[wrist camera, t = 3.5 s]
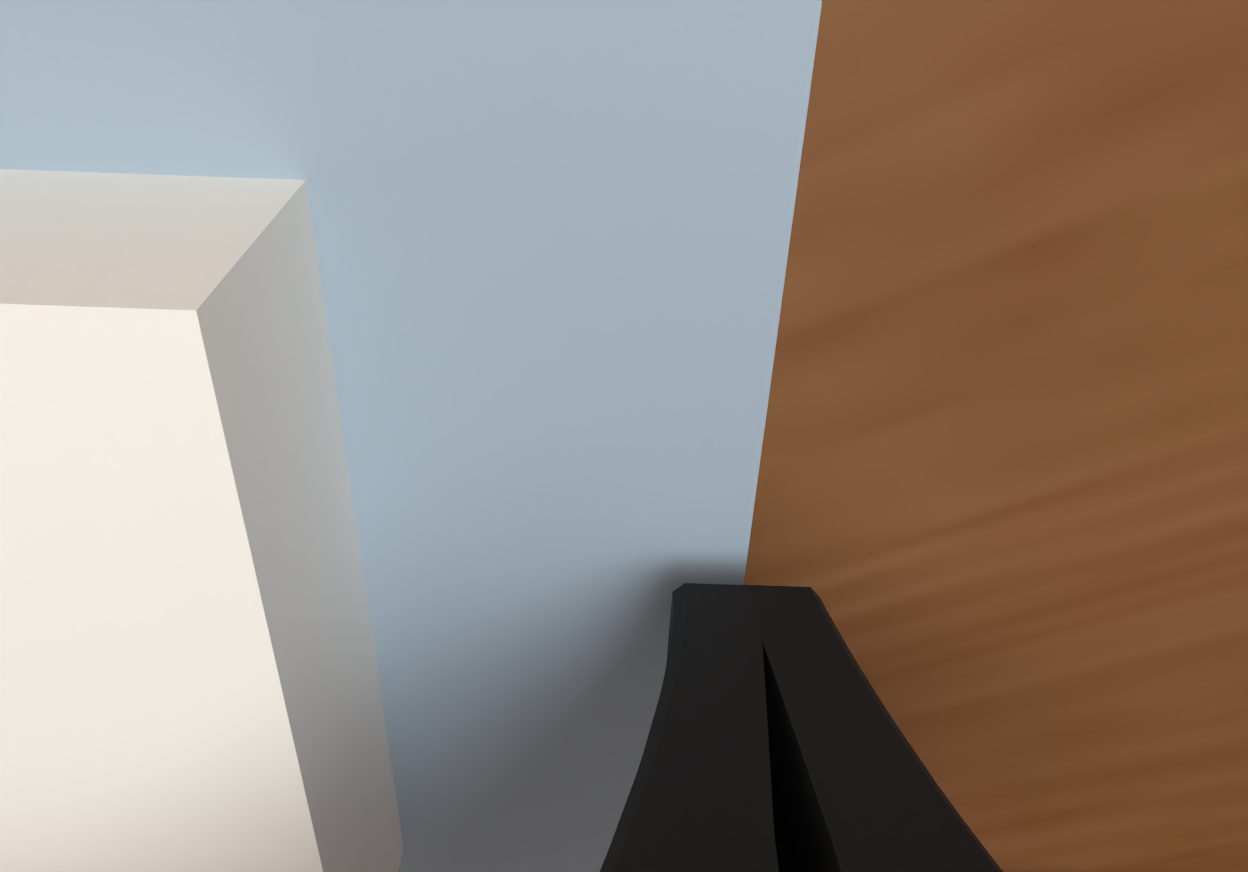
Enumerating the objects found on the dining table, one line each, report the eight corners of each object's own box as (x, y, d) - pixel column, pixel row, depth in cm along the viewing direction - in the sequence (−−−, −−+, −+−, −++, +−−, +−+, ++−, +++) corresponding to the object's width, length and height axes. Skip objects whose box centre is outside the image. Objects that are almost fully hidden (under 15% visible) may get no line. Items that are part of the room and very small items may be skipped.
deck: (687, 723, 17) (698, 920, 14) (-322, 692, 17) (-528, 887, 14) (768, -61, 10) (822, 0, 7) (-908, -127, 10) (-1553, -92, 7)
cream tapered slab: (403, 848, 13) (361, 1042, 11) (-56, 834, 13) (-182, 1026, 11) (305, 179, 8) (196, 309, 6) (-441, 153, 8) (-804, 275, 6)
